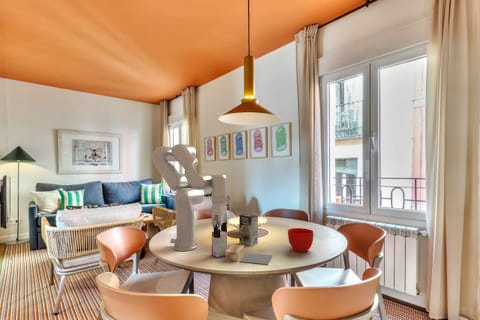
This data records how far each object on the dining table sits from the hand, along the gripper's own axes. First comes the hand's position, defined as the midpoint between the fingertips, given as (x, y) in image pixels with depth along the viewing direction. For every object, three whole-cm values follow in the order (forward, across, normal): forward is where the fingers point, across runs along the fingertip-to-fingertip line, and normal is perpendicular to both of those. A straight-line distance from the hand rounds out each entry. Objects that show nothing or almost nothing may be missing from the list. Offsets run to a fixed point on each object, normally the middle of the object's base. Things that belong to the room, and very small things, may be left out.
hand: (220, 235), depth 126 cm
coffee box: (+10, -23, +8) cm, 27 cm away
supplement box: (+10, 0, -1) cm, 10 cm away
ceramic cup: (+11, -20, +36) cm, 43 cm away
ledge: (+10, 0, +7) cm, 12 cm away
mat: (+10, 0, +17) cm, 20 cm away
